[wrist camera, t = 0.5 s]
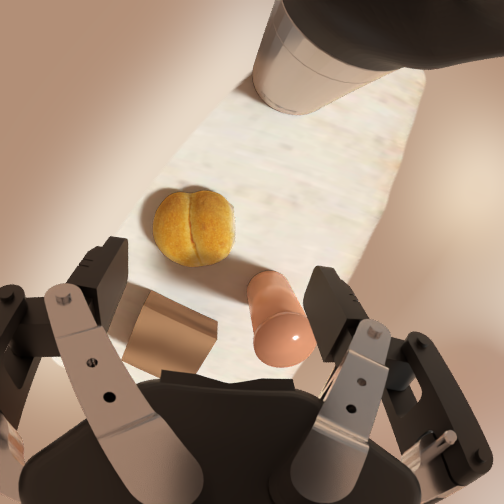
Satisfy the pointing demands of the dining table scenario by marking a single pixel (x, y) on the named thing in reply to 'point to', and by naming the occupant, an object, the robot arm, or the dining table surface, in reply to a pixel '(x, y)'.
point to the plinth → (169, 337)
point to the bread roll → (195, 228)
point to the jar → (278, 321)
